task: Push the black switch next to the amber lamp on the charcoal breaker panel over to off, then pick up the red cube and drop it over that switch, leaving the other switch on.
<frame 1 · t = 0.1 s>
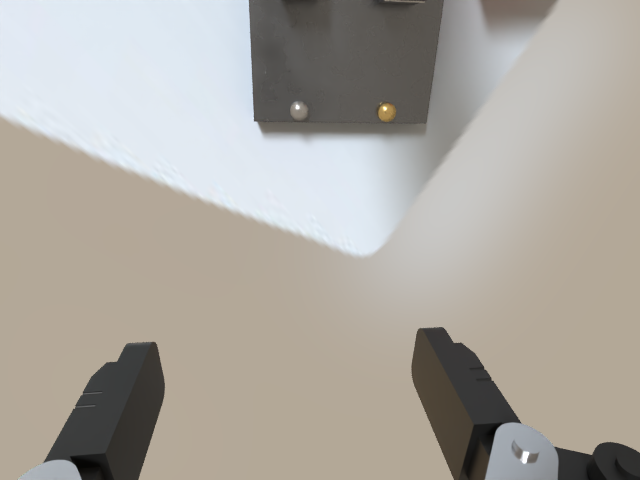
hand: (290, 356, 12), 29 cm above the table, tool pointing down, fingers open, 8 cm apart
breaker panel: (343, 31, 34), on the table
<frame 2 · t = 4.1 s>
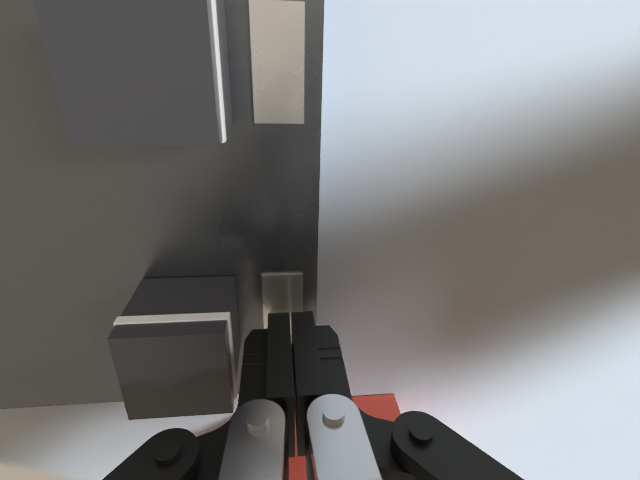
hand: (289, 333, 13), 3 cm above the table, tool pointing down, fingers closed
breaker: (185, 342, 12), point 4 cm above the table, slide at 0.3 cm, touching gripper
red cube: (327, 442, 20), on the table
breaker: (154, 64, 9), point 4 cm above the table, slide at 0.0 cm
breaker panel: (95, 186, 13), on the table
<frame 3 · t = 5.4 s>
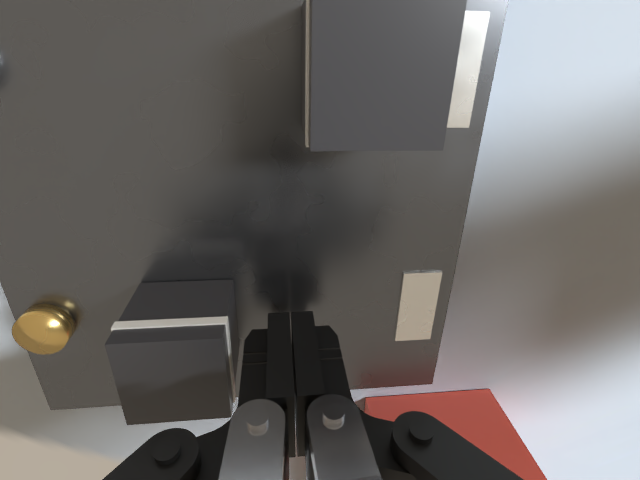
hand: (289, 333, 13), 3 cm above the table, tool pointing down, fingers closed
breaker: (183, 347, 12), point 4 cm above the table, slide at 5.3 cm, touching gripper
red cube: (420, 436, 21), on the table
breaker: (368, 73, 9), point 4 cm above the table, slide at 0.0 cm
breaker panel: (241, 188, 14), on the table
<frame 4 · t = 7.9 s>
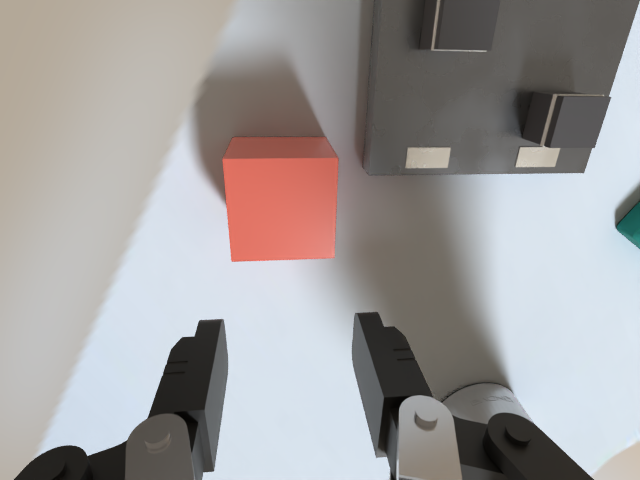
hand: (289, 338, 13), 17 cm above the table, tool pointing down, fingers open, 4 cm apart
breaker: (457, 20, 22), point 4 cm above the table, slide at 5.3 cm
red cube: (280, 181, 28), on the table
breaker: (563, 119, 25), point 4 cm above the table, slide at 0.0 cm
breaker panel: (487, 56, 26), on the table
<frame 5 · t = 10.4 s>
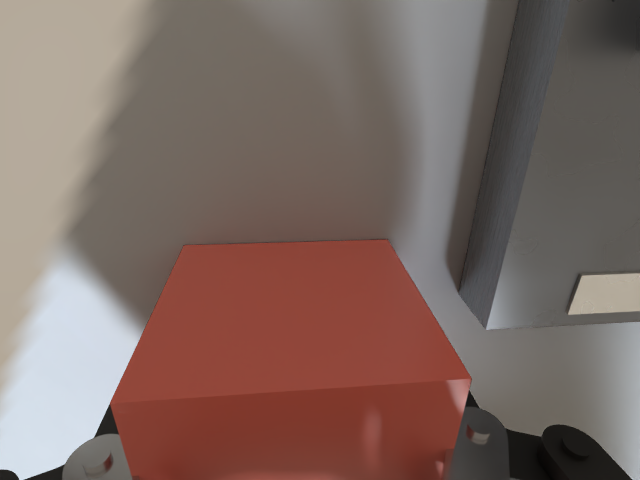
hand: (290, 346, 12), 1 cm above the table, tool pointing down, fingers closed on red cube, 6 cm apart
red cube: (289, 324, 14), on the table, touching gripper
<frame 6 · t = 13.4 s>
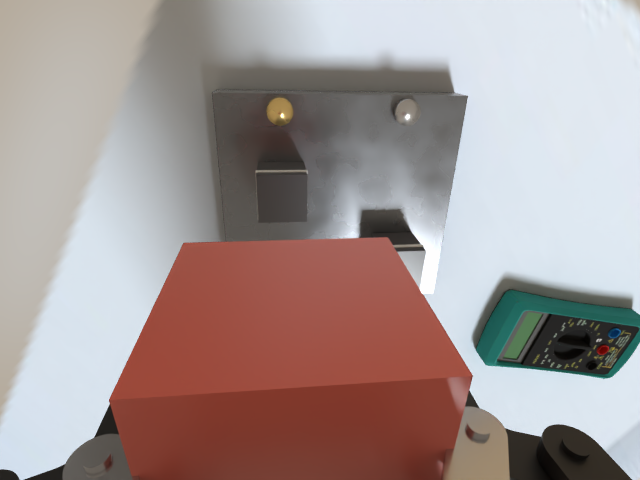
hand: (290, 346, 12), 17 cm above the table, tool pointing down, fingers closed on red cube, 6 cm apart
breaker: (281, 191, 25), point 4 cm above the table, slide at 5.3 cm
red cube: (289, 322, 14), point 16 cm above the table, touching gripper
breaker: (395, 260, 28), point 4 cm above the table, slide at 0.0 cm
breaker panel: (335, 198, 29), on the table
digital multimeter: (549, 326, 38), on the table
when the fingers open (5 cm above the table, at t = 16.3 s): red cube drops 1 cm, resting on breaker panel.
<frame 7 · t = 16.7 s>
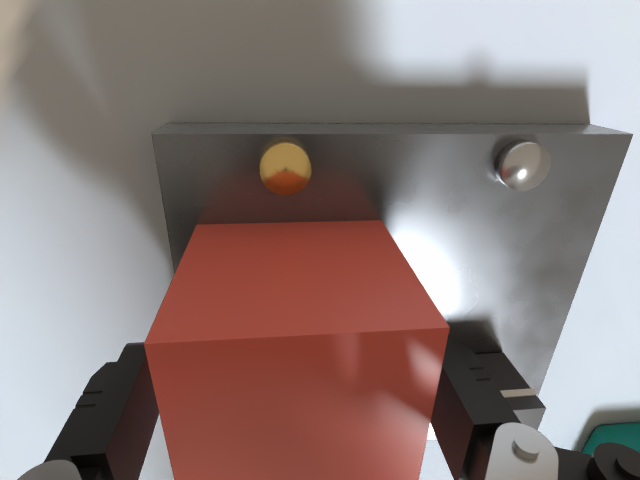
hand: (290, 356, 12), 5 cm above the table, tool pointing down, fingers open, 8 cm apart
red cube: (292, 299, 15), point 2 cm above the table, touching breaker panel
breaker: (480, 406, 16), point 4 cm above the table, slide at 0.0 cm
breaker panel: (375, 294, 18), on the table
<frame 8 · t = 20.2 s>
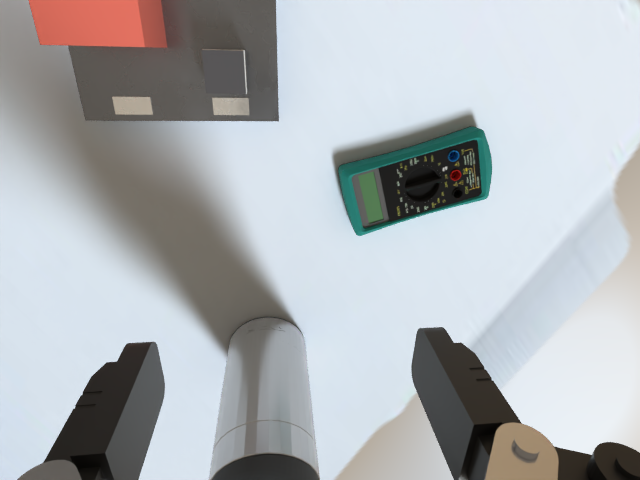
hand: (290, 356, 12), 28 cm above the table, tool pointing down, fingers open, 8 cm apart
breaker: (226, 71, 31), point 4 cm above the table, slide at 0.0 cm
breaker panel: (177, 22, 32), on the table
digital multimeter: (409, 177, 41), on the table
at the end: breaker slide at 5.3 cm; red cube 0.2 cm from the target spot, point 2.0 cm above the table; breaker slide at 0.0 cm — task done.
